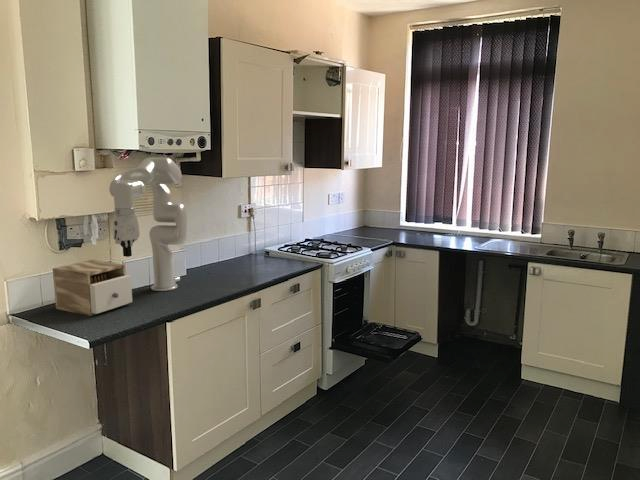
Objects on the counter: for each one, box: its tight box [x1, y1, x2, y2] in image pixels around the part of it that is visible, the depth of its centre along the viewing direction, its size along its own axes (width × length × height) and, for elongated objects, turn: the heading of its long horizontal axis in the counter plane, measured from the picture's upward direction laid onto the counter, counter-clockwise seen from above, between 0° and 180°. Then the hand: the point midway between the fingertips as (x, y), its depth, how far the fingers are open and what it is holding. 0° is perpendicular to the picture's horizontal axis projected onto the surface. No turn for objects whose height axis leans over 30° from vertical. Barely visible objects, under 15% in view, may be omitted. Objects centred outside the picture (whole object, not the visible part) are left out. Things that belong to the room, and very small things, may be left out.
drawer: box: [90, 274, 133, 315], centre depth 237 cm, size 19×24×12 cm
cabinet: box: [52, 259, 127, 317], centre depth 238 cm, size 20×22×18 cm
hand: (127, 256), depth 224 cm, fingers closed
